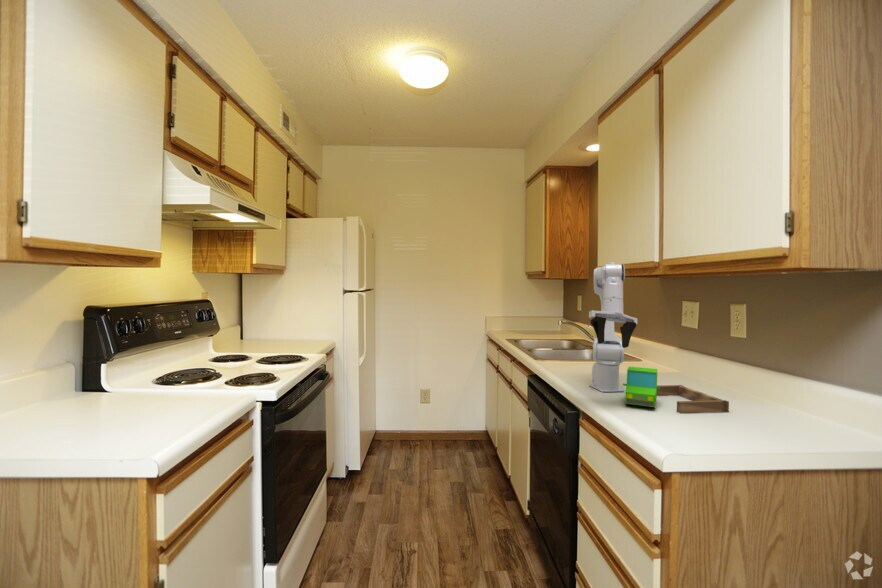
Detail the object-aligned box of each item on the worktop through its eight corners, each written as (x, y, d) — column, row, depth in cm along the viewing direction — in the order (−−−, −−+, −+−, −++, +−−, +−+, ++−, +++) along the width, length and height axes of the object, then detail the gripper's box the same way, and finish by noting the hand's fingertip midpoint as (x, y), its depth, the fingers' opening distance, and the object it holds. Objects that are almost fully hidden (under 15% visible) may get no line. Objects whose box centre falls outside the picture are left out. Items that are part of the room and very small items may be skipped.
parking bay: (638, 395, 141) (638, 385, 141) (680, 394, 143) (681, 385, 143) (680, 413, 121) (680, 402, 121) (728, 411, 123) (729, 401, 123)
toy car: (620, 407, 127) (621, 373, 127) (624, 397, 139) (625, 366, 139) (659, 412, 122) (660, 377, 122) (660, 401, 134) (661, 369, 134)
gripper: (597, 293, 127) (597, 338, 122) (643, 301, 128) (644, 346, 124) (585, 300, 133) (585, 343, 129) (629, 308, 135) (630, 350, 130)
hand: (613, 345), depth 127 cm, fingers open, 7 cm apart
